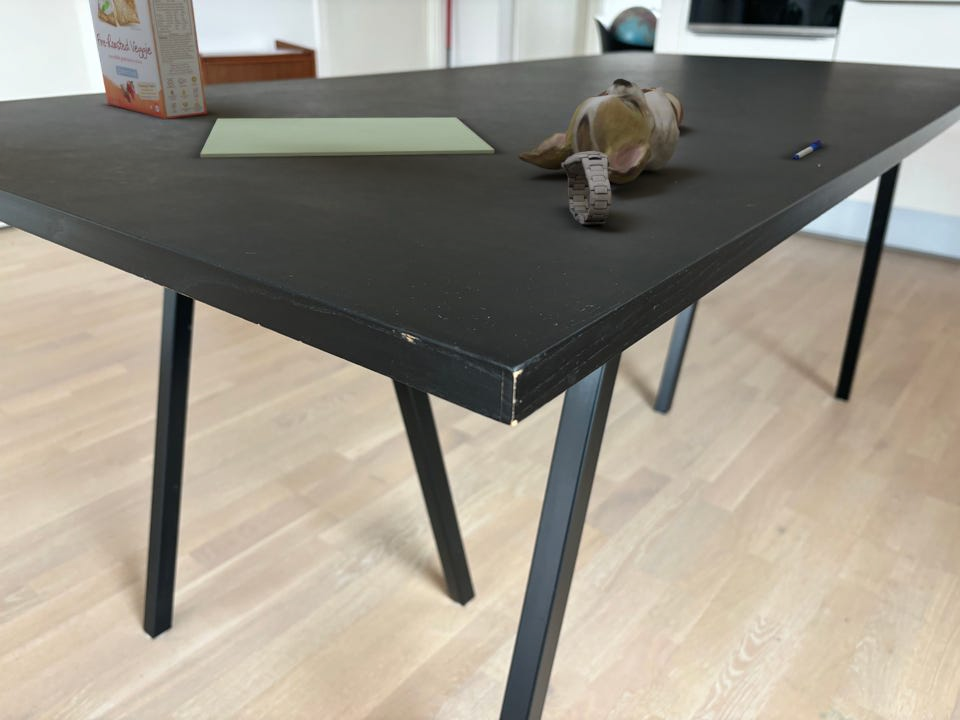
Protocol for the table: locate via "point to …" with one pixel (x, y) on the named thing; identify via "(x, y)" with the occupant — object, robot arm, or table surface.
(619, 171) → the ceramic sculpture
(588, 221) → the wristwatch
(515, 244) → the table surface
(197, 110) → the cracker box
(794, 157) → the blue and white marker
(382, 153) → the mat
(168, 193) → the table surface
